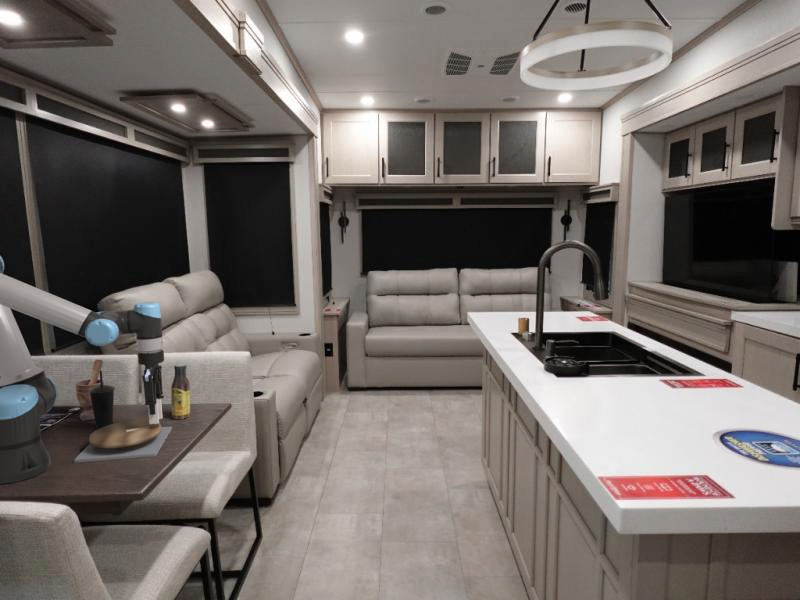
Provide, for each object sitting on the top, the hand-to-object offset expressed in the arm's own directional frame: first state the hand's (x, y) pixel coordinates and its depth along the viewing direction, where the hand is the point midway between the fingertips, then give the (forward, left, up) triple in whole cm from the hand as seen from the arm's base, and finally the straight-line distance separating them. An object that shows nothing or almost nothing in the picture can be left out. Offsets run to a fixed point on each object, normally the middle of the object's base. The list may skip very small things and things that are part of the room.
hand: (156, 420), depth 163 cm
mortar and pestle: (-28, +27, -6) cm, 40 cm away
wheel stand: (-8, -3, -6) cm, 11 cm away
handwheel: (-8, -3, -5) cm, 10 cm away
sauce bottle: (+4, +19, -6) cm, 20 cm away
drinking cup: (-20, +14, -6) cm, 25 cm away
